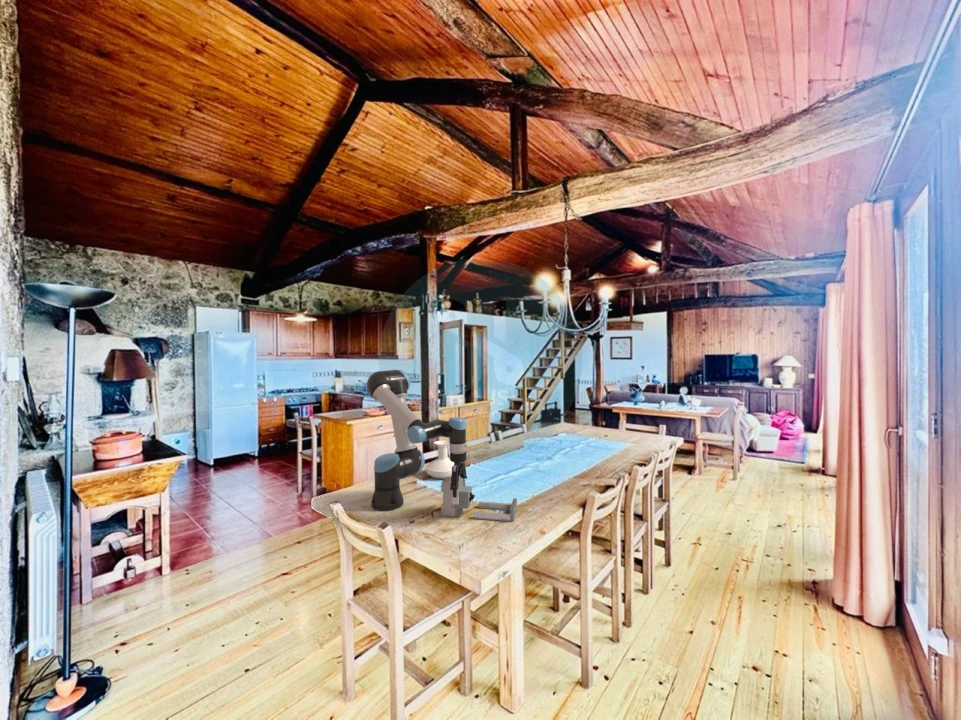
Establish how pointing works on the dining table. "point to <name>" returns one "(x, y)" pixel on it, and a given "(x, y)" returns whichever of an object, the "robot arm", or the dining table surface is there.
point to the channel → (497, 516)
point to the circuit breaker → (463, 495)
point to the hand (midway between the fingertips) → (459, 498)
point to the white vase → (440, 462)
